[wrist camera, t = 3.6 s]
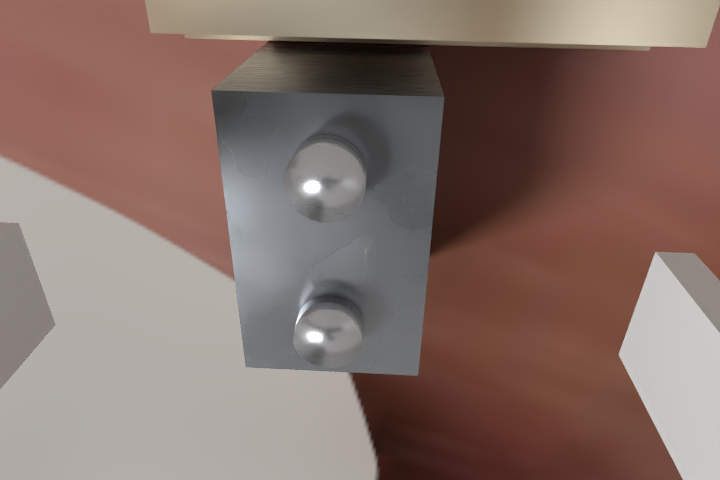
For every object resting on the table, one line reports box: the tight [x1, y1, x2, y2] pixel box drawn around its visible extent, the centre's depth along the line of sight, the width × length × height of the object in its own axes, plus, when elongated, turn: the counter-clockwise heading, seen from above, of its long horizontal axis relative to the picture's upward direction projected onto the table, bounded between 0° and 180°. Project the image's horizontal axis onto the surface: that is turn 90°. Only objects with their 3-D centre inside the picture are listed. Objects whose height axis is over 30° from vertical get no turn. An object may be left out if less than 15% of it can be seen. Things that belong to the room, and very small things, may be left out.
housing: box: [211, 42, 444, 376], centre depth 16 cm, size 5×8×7 cm, turn 179°
